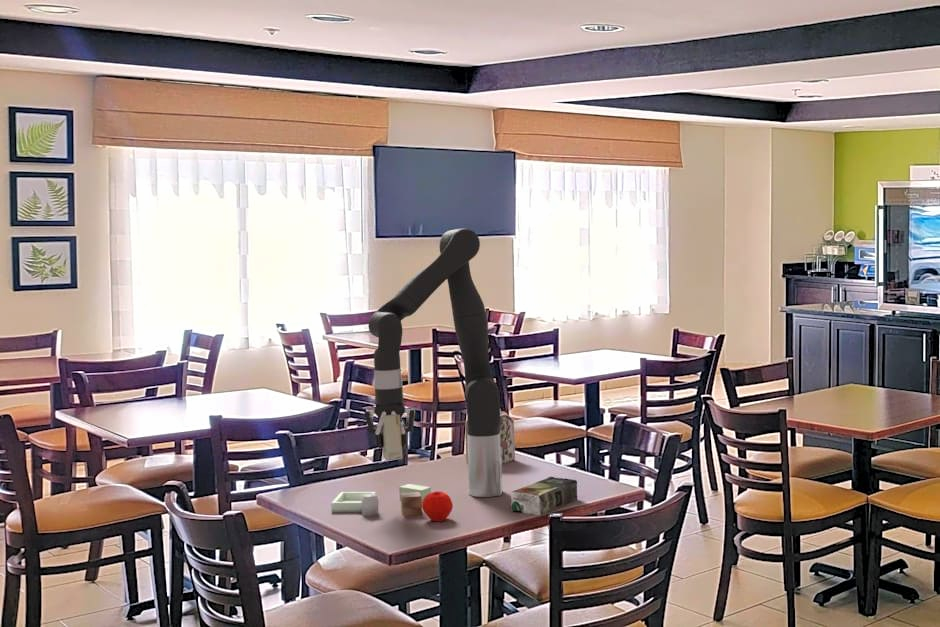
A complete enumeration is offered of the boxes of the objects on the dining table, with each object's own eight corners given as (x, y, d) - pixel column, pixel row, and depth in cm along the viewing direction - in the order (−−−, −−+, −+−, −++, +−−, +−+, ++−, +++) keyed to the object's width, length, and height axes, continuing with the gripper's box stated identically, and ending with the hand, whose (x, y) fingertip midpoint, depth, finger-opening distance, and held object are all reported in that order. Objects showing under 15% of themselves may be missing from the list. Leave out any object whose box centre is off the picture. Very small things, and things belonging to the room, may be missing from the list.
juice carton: (539, 517, 273) (538, 494, 273) (507, 512, 279) (507, 489, 279) (579, 501, 290) (578, 479, 289) (548, 497, 295) (548, 475, 295)
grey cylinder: (379, 511, 284) (379, 493, 283) (376, 516, 279) (376, 497, 279) (363, 511, 284) (363, 493, 284) (360, 516, 280) (359, 497, 279)
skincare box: (403, 459, 284) (400, 414, 284) (387, 461, 283) (384, 416, 282) (397, 455, 291) (395, 411, 290) (382, 456, 289) (379, 412, 288)
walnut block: (419, 510, 284) (419, 491, 284) (422, 514, 279) (421, 496, 279) (401, 511, 284) (400, 493, 283) (403, 516, 279) (402, 497, 278)
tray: (376, 500, 296) (376, 491, 295) (368, 511, 284) (367, 502, 284) (341, 500, 297) (341, 492, 296) (331, 512, 285) (331, 502, 285)
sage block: (431, 501, 294) (430, 487, 293) (421, 504, 290) (421, 490, 290) (409, 497, 298) (408, 483, 298) (399, 500, 295) (399, 486, 295)
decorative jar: (465, 463, 341) (463, 407, 339) (487, 456, 350) (486, 402, 348) (494, 467, 333) (492, 410, 332) (516, 460, 342) (514, 405, 340)
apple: (424, 515, 278) (423, 488, 277) (454, 515, 277) (453, 487, 277) (420, 524, 270) (419, 495, 270) (451, 523, 269) (450, 495, 269)
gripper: (416, 382, 288) (420, 443, 290) (365, 384, 290) (368, 445, 291) (412, 386, 281) (416, 449, 282) (359, 388, 282) (363, 451, 284)
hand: (391, 447), depth 287 cm, fingers closed on skincare box, 5 cm apart
